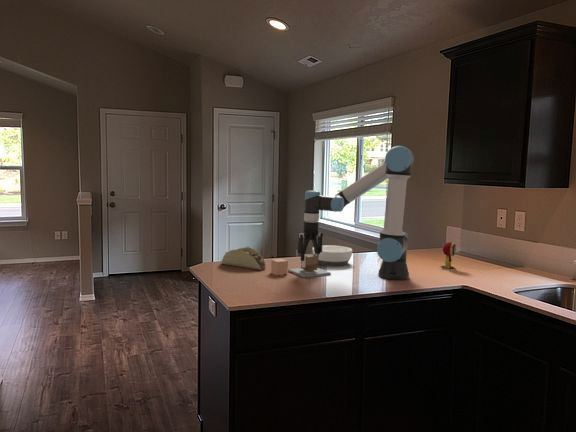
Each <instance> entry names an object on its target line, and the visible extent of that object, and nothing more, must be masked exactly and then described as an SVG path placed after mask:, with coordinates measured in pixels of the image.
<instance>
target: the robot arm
mask: <svg viewBox="0 0 576 432" xmlns="http://www.w3.org/2000/svg"><path fill="white" fill-rule="evenodd" d="M414 163H415V154H414V152H413V150H411V149H410V148H408V147H406V146H403V145H396V146H393V147H391V148H390V149H389V150H388V151H387V152H386V154H385V157H384V160H383V163H382V164H380V165H379V166H377V167H376V168H374V169H373V170H371V171H369V172H368V173H367V174H365V175H364V176H362V177H360V178H359V179H357V180H356V181H354V182H353V183H351V184H350V185H348V186H347V187H345V188H344V189H342V190H341V191H340V192H337V193H336V194H334V195H322V194H321V191H320V190H306V191H305V196H304V210H303V211H304V212H303V232H302V233H298V235H297V236H298V240H297V241H298V242H297V253H298V254H300V262H301V261H302V267H304V268H306V255H307V254H306V252H307V249H308V245H309V243H310V241H311V243H312V246H313V247H314V251H315V253H313V252H312V255H315V256H318V257H319V254H320V252H322V245H323V238H324V237H323V236H324V233H322V232H319V225H320V223H319V221H320V211H324V212H325V211H326V212H327V211H328V212H334V213H337V212H342V211H344V208H345V207H346V206H347V205H349V204H351V203H352V202H353V201H355V200H356V199H358V198H360V197H361V196H363V195H365V194H366V193H367V192H369V191H370V190H373V188H375V187H377V186H379V185H380V184H381V183H383V182H385V181H386V180H387V179H388V180H387V189H386V190H387V191H386V201H385V211H384V222H383V228H382V229H381V230H380V231H379V240H378V243H377V246H376V253H377V255H378V256H379V258H380V259H381V260H382V261H381V264H380V268H379V269H378V273H377V275H378V277H380V278H382V279H385V280H392V281H394V280H395V281H401V280H402V281H404V280H408V279H409V278H410V272H409V268H408V265H407V253H408V240H409V238H408V235H409V234H408V233H407V232H406V231H405V232H404V231H403V225H404V214H405V205H406V193H407V184H408V183H407V182H408V179H410V178H411V177H412V167H413V165H414ZM313 247H312V248H313Z"/></svg>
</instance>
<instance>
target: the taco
mask: <svg viewBox="0 0 576 432" xmlns="http://www.w3.org/2000/svg"><path fill="white" fill-rule="evenodd" d="M221 262H222V263H221V264H222V265H225V266H226V265H227V266H233V267H238V268H245V269H251V270H252V269H253V270H257V269H258V271H265V270H264V269H266V262H265V260H264V257H263V256H262V254H261V253H260V252H259V251H258V250H257V249H254V248H251V247H249V246H247V247H246V246H245V247H240V248H236V249H232V250H229V251H227V252H225V254H224V255H223V257H222V258H221ZM262 269H263V270H262Z"/></svg>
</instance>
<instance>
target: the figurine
mask: <svg viewBox="0 0 576 432" xmlns="http://www.w3.org/2000/svg"><path fill="white" fill-rule="evenodd" d="M442 252H443V254H444V255H445V259H444V265H440V266H439V267H438V269H440V270H441V269H442V271H447V270H450V271H449V272H452V271H451V270H455V271H457V268H456V267H454V266H452V260H453V259H452V257H454V256H455V255H456V254H457V245H456V244H455V242H452V241H449V242H446V243H444V244H443V246H442Z"/></svg>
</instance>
